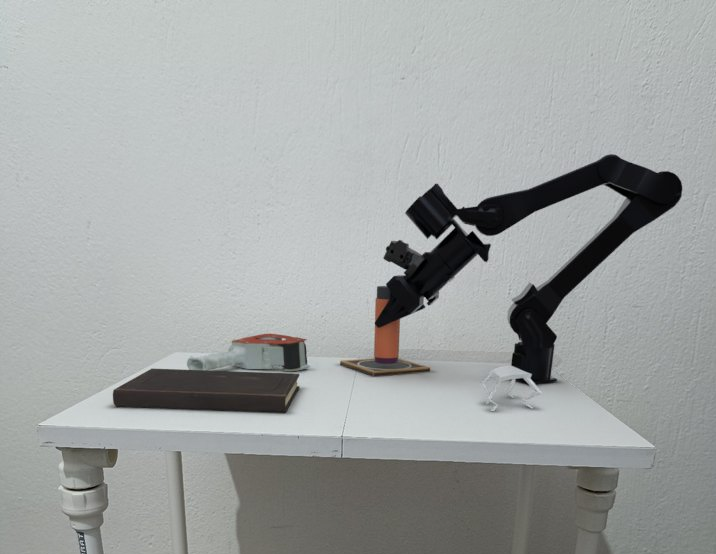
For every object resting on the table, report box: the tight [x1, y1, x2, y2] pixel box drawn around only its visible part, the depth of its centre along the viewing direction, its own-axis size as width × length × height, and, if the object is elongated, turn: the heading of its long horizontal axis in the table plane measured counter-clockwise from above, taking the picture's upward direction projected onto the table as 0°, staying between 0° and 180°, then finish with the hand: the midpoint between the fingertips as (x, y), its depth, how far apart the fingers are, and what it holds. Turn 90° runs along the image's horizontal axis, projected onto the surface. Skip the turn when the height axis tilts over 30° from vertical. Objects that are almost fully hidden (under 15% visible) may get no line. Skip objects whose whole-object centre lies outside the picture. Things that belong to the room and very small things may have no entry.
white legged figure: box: [481, 365, 543, 412], centre depth 96 cm, size 12×8×5 cm
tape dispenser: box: [186, 333, 310, 373], centre depth 117 cm, size 18×5×20 cm
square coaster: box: [339, 357, 431, 377], centre depth 121 cm, size 12×12×1 cm
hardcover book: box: [112, 368, 300, 414], centre depth 95 cm, size 16×23×2 cm
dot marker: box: [373, 285, 401, 364], centre depth 117 cm, size 4×4×13 cm
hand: (379, 324), depth 117 cm, fingers closed on dot marker, 4 cm apart
